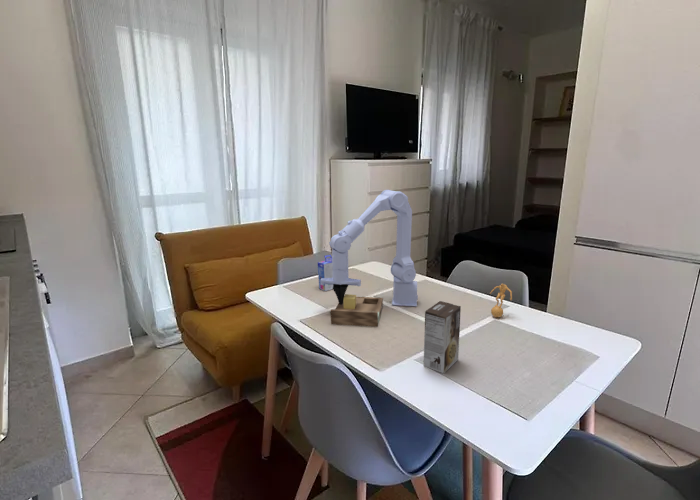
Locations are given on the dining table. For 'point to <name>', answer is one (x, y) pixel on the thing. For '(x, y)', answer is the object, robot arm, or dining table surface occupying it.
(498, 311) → the figurine
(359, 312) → the board
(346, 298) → the cube
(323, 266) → the ink cartridge box
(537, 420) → the dining table surface
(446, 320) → the coffee box
